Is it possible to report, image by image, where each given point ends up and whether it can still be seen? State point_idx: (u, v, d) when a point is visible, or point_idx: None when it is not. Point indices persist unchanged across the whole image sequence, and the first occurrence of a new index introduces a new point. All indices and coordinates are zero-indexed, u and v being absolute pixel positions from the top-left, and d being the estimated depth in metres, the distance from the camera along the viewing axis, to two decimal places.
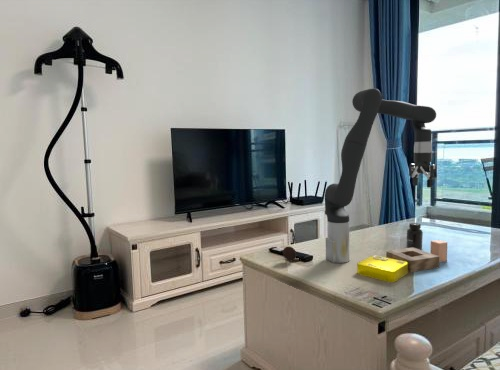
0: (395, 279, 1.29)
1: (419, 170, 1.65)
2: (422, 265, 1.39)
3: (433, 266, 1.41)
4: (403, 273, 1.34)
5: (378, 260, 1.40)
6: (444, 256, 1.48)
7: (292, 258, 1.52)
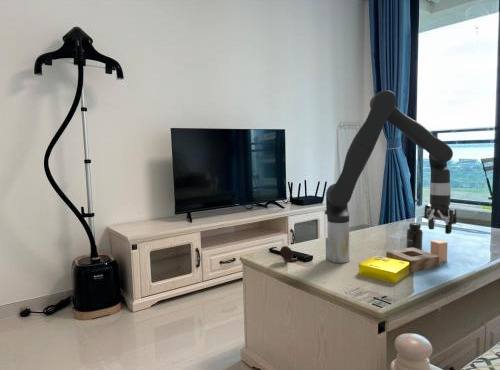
0: (397, 280, 1.28)
1: (436, 213, 1.49)
2: (422, 265, 1.39)
3: (433, 266, 1.41)
4: (405, 273, 1.33)
5: (379, 260, 1.40)
6: (444, 256, 1.48)
7: (288, 258, 1.53)
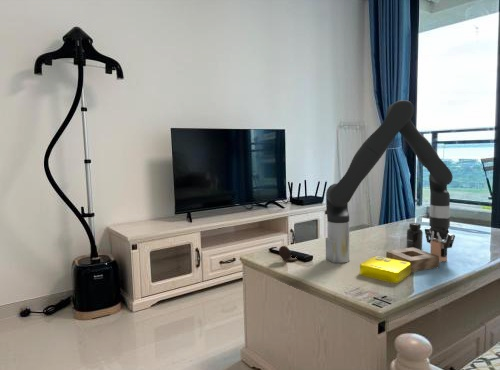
0: (399, 280, 1.28)
1: (436, 235, 1.49)
2: (422, 265, 1.39)
3: (433, 266, 1.41)
4: (406, 273, 1.33)
5: (381, 261, 1.39)
6: None
7: (287, 258, 1.53)
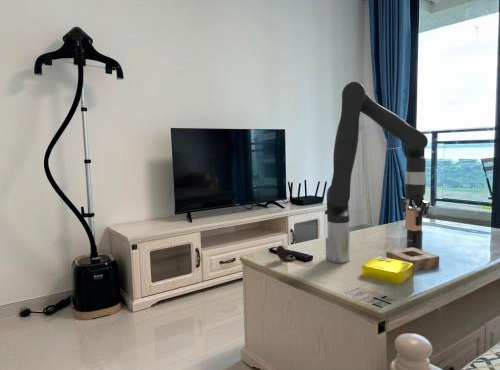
0: (401, 281, 1.27)
1: (411, 203, 1.44)
2: (422, 265, 1.39)
3: (433, 266, 1.41)
4: (409, 274, 1.32)
5: (383, 261, 1.39)
6: None
7: (283, 257, 1.54)
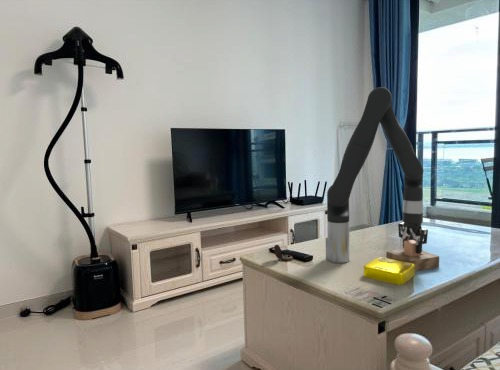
0: (404, 282, 1.26)
1: (409, 231, 1.45)
2: (422, 265, 1.39)
3: (433, 266, 1.41)
4: (411, 275, 1.31)
5: (384, 262, 1.38)
6: None
7: (279, 257, 1.55)
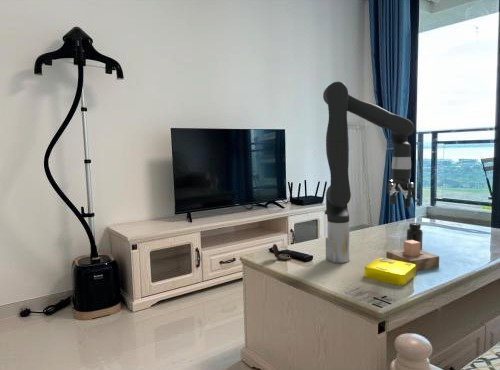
0: (405, 282, 1.26)
1: (397, 188, 1.51)
2: (422, 265, 1.39)
3: (433, 266, 1.41)
4: (412, 275, 1.31)
5: (385, 263, 1.37)
6: None
7: (276, 256, 1.56)
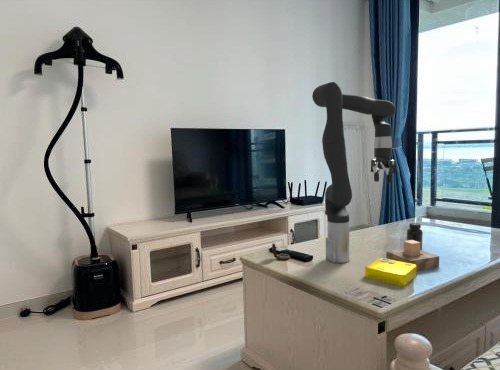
0: (405, 283, 1.25)
1: (379, 166, 1.63)
2: (422, 265, 1.39)
3: (433, 266, 1.41)
4: (412, 276, 1.31)
5: (386, 263, 1.37)
6: None
7: (274, 255, 1.57)
